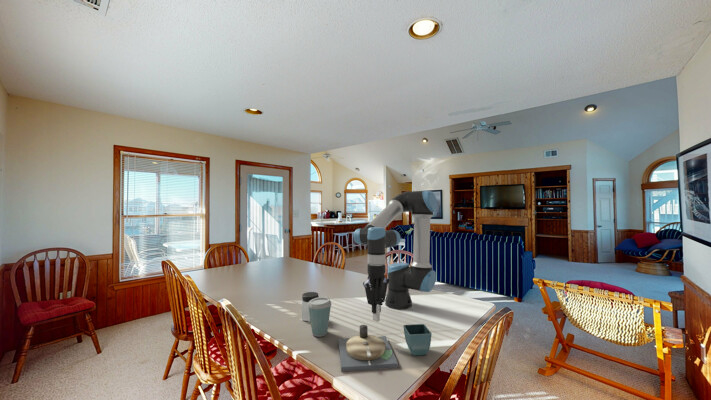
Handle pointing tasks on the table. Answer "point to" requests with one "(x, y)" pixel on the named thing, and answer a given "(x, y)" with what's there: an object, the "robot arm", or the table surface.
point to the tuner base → (356, 364)
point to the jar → (305, 299)
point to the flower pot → (417, 338)
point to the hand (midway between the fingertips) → (376, 320)
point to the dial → (365, 345)
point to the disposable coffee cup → (319, 315)
